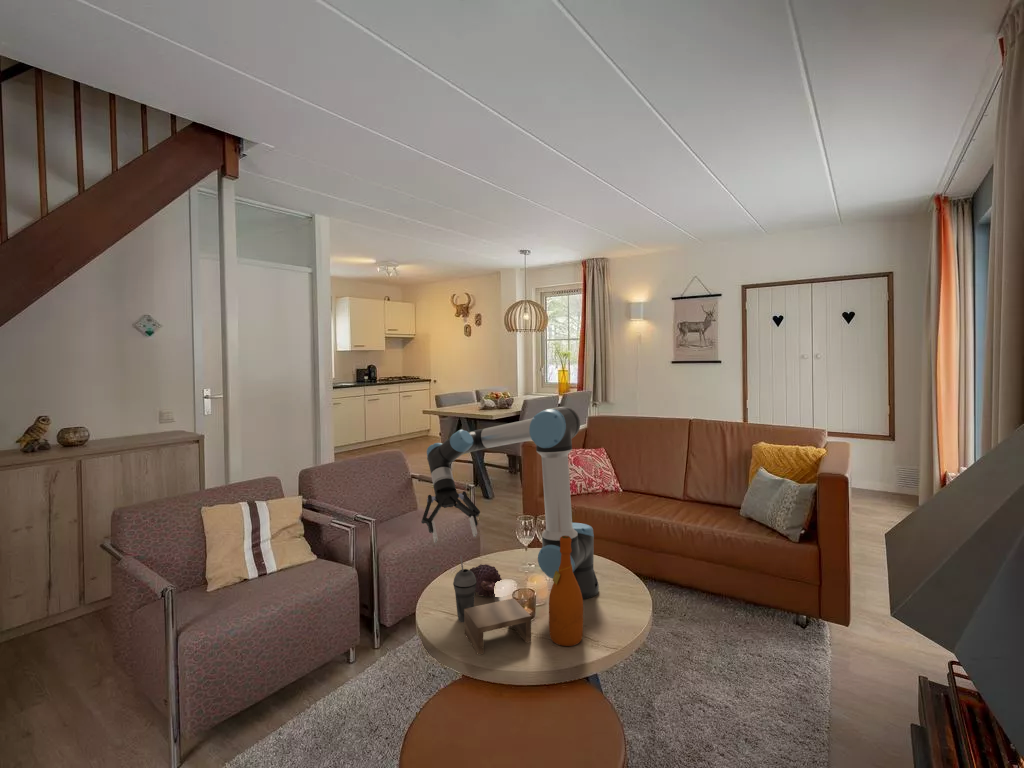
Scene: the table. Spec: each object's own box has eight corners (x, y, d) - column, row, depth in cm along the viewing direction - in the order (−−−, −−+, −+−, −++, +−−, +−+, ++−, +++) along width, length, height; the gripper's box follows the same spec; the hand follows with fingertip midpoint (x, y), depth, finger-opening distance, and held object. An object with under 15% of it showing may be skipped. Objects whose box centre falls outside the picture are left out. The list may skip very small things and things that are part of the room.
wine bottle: (554, 627, 154) (554, 529, 152) (586, 633, 150) (586, 532, 149) (544, 644, 145) (543, 540, 143) (578, 651, 141) (578, 544, 140)
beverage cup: (473, 626, 155) (472, 561, 154) (450, 624, 156) (449, 559, 155) (479, 614, 162) (479, 552, 161) (457, 612, 164) (456, 551, 163)
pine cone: (459, 588, 180) (459, 561, 180) (483, 581, 186) (482, 554, 186) (487, 608, 166) (487, 577, 166) (512, 599, 172) (511, 570, 172)
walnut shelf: (514, 622, 157) (513, 598, 157) (531, 641, 146) (530, 615, 146) (464, 633, 151) (464, 608, 150) (478, 655, 140) (478, 628, 139)
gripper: (474, 485, 190) (488, 538, 177) (407, 492, 180) (417, 548, 167) (479, 474, 185) (494, 527, 172) (410, 480, 175) (420, 537, 162)
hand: (456, 538), depth 169 cm, fingers open, 13 cm apart
